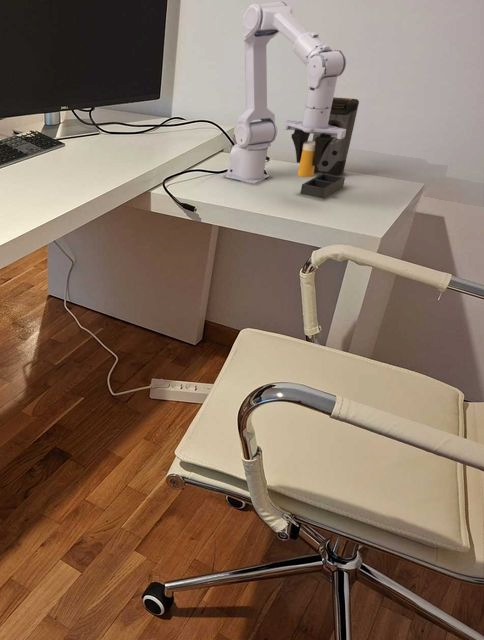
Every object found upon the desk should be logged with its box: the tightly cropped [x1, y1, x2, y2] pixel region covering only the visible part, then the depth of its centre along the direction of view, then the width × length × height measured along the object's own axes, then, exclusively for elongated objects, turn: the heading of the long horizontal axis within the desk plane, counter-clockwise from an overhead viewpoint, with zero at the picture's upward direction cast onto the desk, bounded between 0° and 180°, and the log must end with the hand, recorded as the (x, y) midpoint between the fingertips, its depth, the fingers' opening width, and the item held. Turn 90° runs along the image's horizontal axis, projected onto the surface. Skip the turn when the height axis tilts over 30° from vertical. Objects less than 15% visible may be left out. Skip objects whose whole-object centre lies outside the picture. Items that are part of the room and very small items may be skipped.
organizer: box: [300, 173, 346, 200], centre depth 175 cm, size 6×12×3 cm, turn 133°
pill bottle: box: [297, 140, 315, 178], centre depth 164 cm, size 4×4×8 cm
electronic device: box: [311, 97, 360, 177], centre depth 182 cm, size 9×6×20 cm, turn 58°
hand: (307, 163), depth 165 cm, fingers closed on pill bottle, 3 cm apart
